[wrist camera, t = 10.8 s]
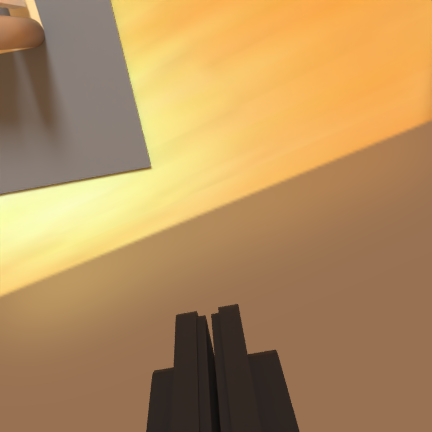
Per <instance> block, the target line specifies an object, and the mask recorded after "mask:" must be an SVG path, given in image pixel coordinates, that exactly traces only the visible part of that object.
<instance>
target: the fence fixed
mask: <svg viewBox="0 0 432 432" xmlns="http://www.w3.org/2000/svg"><path fill="white" fill-rule="evenodd" d="M0 7H2V8H9V9H19V8H24V7H26V4H25V1H24V0H0ZM44 38H45V33H44V30H43V28H42V26H41V25H40V23H39V22H37V21H36V20H34V19H32V18H25V17H15V16H5V15H0V50H8V49H20V48H32V47H38V46H40V45H41V44H42V43H43V41H44Z"/></svg>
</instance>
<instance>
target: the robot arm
mask: <svg viewBox="0 0 432 432" xmlns="http://www.w3.org/2000/svg"><path fill="white" fill-rule="evenodd" d="M218 310H219V313H216V314H211V318H212V330H213V342H214V352H213V347H212V343H211V338H210V334H209V329H208V324H207V320H206V316H205V315H204V316H198V313H197V311H195V312H190V313H184V314H178V315H176V326H175V350H174V367H173V368H168V369H162V370H156V371H154V372H153V375H152V383H151V392H150V402H149V411H148V421H147V430H146V432H299V429H298V425H297V421H296V418H295V414H294V410H293V407H292V403H291V400H290V396H289V393H288V389H287V385H286V382H285V378H284V375H283V371H282V368H281V364H280V360H279V357H278V354H277V351H276V350H272V351H265V352H260V353H254V354H248V355H247V350H246V344H245V339H244V333H243V328H242V323H241V317H240V312H239V307H238V304H235V305H230V306H224V307H219V308H218ZM214 354H215V356H214Z"/></svg>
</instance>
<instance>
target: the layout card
mask: <svg viewBox="0 0 432 432" xmlns="http://www.w3.org/2000/svg"><path fill="white" fill-rule="evenodd" d="M24 1H25V4H26V7H24V8H19V9H9V8H2V7H0V15H5V16H15V17H25V18H32V19H34V20H36V21H37V22H39V23H40V25H41V26H42V28H43V30H44V33H45V38H44V41H43V43H42V44H41V45H40V46H38V47H32V48H20V49H8V50H0V194H2V193H8V192H13V191H19V190H24V189H30V188H36V187H41V186H47V185H52V184H58V183H63V182H69V181H74V180H80V179H86V178H91V177H97V176H102V175H108V174H113V173H119V172H124V171H130V170H136V169H141V168H147V167H151V163H150V159H149V155H148V151H147V147H146V143H145V139H144V135H143V131H142V126H141V122H140V118H139V114H138V110H137V106H136V102H135V98H134V94H133V90H132V86H131V82H130V78H129V73H128V69H127V65H126V61H125V57H124V53H123V49H122V45H121V41H120V37H119V33H118V29H117V25H116V21H115V16H114V12H113V8H112V4H111V0H24Z"/></svg>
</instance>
